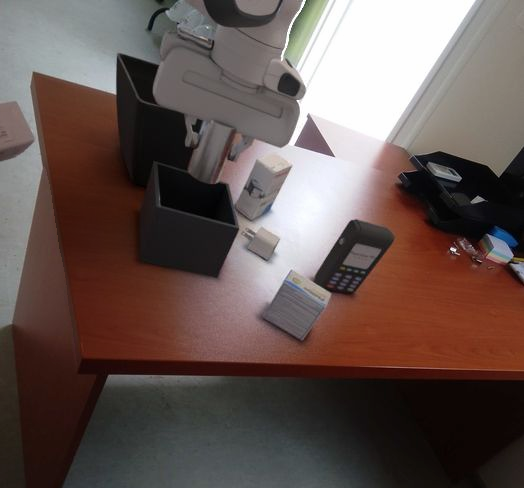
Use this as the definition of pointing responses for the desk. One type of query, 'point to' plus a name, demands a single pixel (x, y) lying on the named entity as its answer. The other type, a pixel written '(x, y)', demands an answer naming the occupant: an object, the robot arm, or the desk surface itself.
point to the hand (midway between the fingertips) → (211, 152)
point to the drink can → (211, 151)
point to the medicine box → (297, 305)
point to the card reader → (353, 256)
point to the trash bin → (186, 222)
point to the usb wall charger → (262, 242)
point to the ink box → (263, 185)
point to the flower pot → (147, 122)
